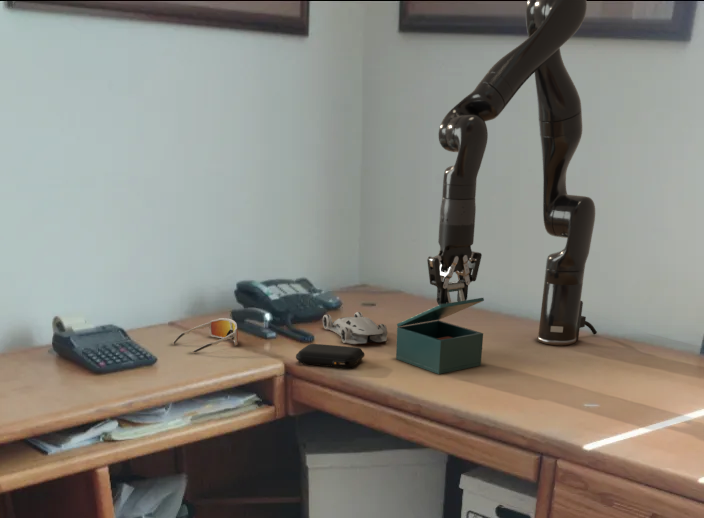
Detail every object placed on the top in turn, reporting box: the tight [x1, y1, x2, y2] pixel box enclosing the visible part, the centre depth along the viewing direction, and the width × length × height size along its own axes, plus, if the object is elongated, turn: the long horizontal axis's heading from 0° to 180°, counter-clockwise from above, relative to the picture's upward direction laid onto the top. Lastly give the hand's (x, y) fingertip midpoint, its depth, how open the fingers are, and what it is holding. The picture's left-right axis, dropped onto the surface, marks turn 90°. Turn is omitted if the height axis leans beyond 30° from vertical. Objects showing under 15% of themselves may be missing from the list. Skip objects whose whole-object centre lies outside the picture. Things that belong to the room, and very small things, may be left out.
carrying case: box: [295, 343, 366, 369], centre depth 217 cm, size 11×3×15 cm
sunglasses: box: [172, 317, 239, 354], centre depth 231 cm, size 14×15×5 cm
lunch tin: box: [395, 319, 484, 375], centre depth 216 cm, size 16×13×7 cm
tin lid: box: [396, 280, 485, 328], centre depth 212 cm, size 16×13×5 cm
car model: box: [322, 311, 388, 345], centre depth 238 cm, size 11×24×5 cm, turn 21°
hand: (451, 303), depth 208 cm, fingers closed on tin lid, 5 cm apart
